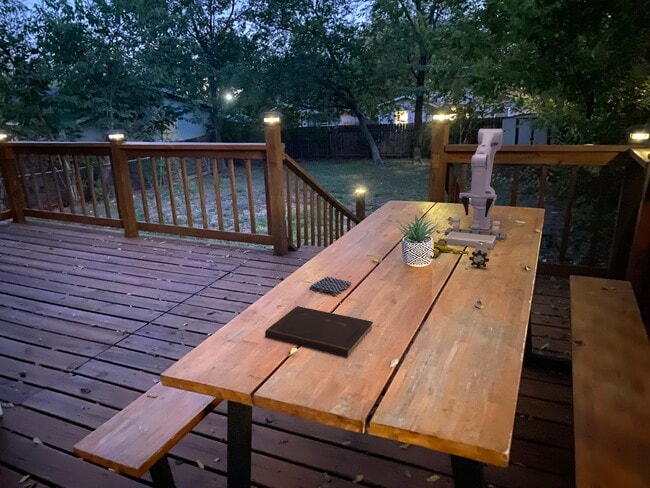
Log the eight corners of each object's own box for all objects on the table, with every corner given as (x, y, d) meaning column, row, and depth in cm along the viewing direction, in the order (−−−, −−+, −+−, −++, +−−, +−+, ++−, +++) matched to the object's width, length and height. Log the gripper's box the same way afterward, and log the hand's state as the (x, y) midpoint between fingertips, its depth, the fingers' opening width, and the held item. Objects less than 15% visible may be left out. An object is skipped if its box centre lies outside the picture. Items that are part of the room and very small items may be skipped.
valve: (471, 256, 168) (468, 267, 158) (473, 239, 166) (469, 249, 156) (490, 258, 166) (488, 269, 155) (492, 241, 164) (489, 251, 153)
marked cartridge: (471, 234, 194) (472, 218, 192) (479, 235, 193) (480, 219, 191) (470, 236, 192) (471, 220, 190) (477, 237, 191) (479, 221, 188)
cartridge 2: (491, 236, 191) (492, 220, 189) (499, 237, 190) (500, 221, 187) (490, 238, 188) (491, 222, 186) (498, 239, 187) (499, 222, 185)
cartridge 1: (452, 232, 198) (453, 217, 196) (459, 233, 197) (460, 217, 194) (451, 234, 195) (452, 218, 193) (458, 235, 194) (459, 219, 192)
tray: (450, 237, 191) (450, 231, 191) (495, 242, 183) (495, 236, 183) (445, 244, 183) (445, 238, 182) (492, 249, 175) (492, 243, 174)
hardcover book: (297, 313, 129) (297, 305, 128) (373, 329, 118) (373, 321, 118) (265, 338, 115) (264, 330, 114) (347, 359, 105) (347, 350, 104)
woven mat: (353, 286, 145) (353, 281, 145) (335, 298, 137) (335, 292, 136) (326, 280, 151) (326, 275, 150) (307, 291, 143) (307, 285, 142)
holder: (448, 230, 201) (448, 227, 200) (505, 236, 190) (506, 233, 190) (444, 235, 195) (444, 231, 194) (503, 241, 184) (504, 237, 184)
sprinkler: (412, 244, 170) (423, 232, 182) (410, 254, 171) (422, 242, 184) (464, 257, 162) (472, 244, 174) (462, 268, 163) (470, 254, 176)
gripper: (458, 184, 185) (456, 216, 190) (496, 186, 179) (493, 219, 183) (462, 181, 191) (460, 212, 196) (498, 183, 185) (495, 215, 189)
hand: (476, 215), depth 190 cm, fingers open, 7 cm apart
